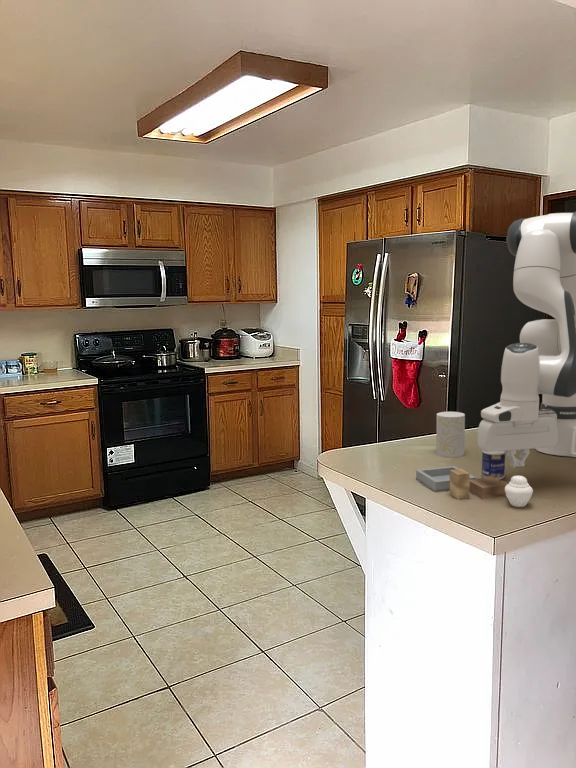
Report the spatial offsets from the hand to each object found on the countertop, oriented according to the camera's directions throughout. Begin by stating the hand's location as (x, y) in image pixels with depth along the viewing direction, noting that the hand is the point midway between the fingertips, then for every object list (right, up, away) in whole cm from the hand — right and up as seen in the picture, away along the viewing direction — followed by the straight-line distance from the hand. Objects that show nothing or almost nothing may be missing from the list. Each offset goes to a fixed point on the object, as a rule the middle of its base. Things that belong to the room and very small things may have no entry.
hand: (517, 466), depth 158 cm
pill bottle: (-2, -4, +11) cm, 12 cm away
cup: (-7, -1, +35) cm, 36 cm away
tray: (-16, -5, +7) cm, 18 cm away
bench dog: (-15, -7, -3) cm, 16 cm away
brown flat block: (-8, -7, -1) cm, 10 cm away
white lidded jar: (-3, -8, -10) cm, 13 cm away
